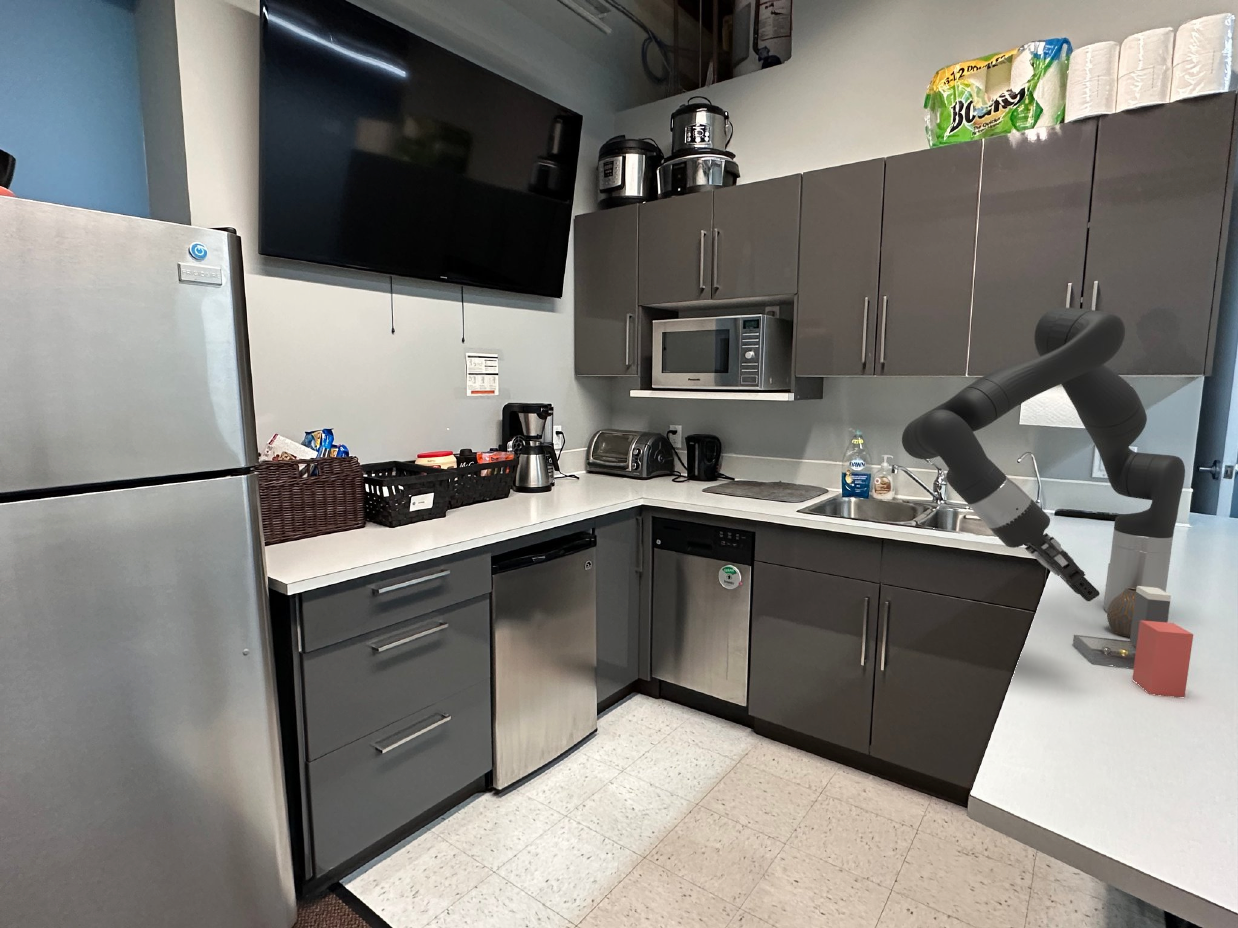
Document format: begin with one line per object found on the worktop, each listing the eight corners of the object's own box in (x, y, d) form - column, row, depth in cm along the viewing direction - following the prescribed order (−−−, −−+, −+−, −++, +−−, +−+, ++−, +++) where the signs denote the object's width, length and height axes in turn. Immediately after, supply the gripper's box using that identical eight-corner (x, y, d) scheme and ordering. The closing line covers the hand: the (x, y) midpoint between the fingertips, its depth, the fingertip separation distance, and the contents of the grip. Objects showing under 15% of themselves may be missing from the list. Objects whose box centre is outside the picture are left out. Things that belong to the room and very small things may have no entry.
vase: (1130, 627, 121) (1135, 583, 120) (1162, 641, 114) (1168, 595, 113) (1095, 627, 121) (1101, 583, 119) (1125, 641, 114) (1131, 595, 113)
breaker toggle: (1141, 651, 103) (1149, 593, 102) (1129, 641, 107) (1136, 585, 106) (1163, 653, 103) (1171, 595, 101) (1150, 644, 106) (1157, 587, 105)
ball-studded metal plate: (1092, 663, 104) (1095, 635, 103) (1072, 645, 112) (1075, 618, 111) (1186, 675, 100) (1190, 645, 100) (1159, 655, 108) (1163, 627, 107)
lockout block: (1132, 680, 98) (1139, 620, 97) (1164, 684, 97) (1173, 622, 96) (1149, 694, 94) (1158, 631, 93) (1184, 698, 93) (1193, 634, 92)
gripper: (1044, 503, 91) (1133, 593, 89) (1014, 488, 104) (1091, 566, 102) (999, 535, 93) (1086, 624, 91) (975, 517, 106) (1050, 594, 105)
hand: (1088, 593), depth 97 cm, fingers open, 3 cm apart
